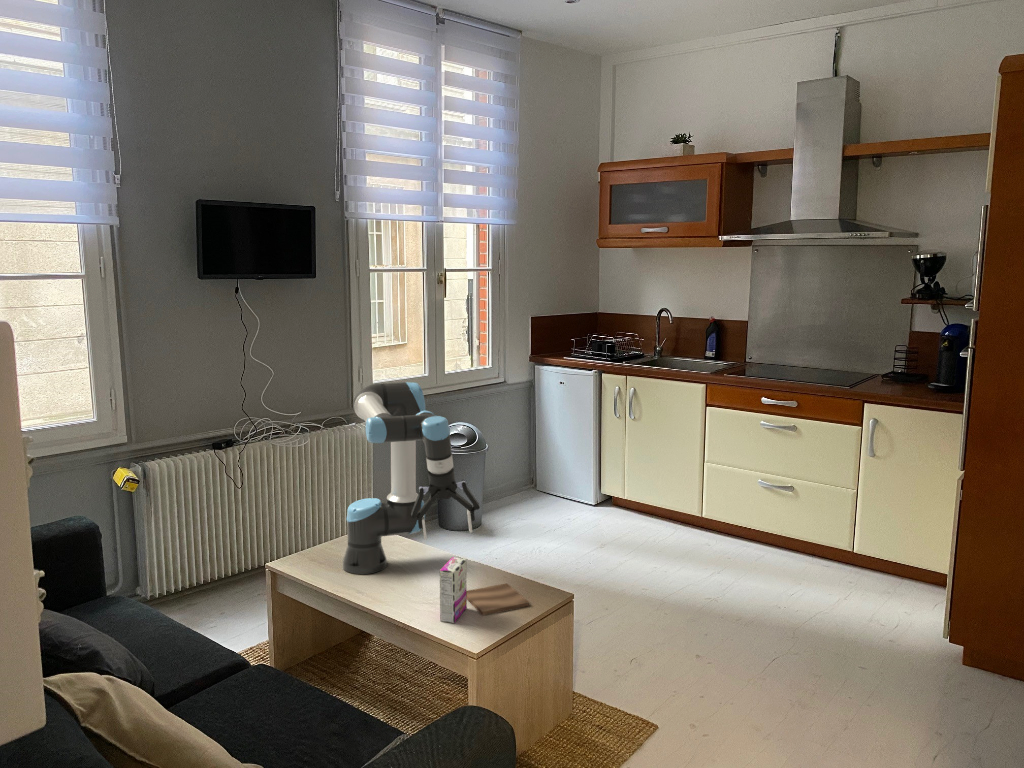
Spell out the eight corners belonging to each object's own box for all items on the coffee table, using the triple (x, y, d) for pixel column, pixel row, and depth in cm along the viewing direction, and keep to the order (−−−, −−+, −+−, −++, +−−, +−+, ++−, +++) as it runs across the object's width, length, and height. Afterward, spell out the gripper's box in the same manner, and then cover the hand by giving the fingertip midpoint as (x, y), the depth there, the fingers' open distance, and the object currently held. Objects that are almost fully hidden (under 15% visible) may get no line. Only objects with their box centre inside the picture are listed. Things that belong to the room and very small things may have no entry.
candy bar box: (451, 606, 245) (452, 556, 243) (467, 608, 244) (467, 558, 241) (438, 621, 235) (438, 569, 232) (454, 624, 233) (454, 571, 231)
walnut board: (462, 595, 253) (462, 591, 253) (507, 586, 260) (507, 583, 260) (482, 615, 239) (482, 611, 239) (529, 606, 246) (529, 602, 246)
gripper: (397, 480, 223) (406, 546, 230) (484, 468, 226) (491, 533, 233) (397, 469, 230) (405, 534, 237) (481, 458, 233) (487, 522, 240)
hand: (448, 534), depth 235 cm, fingers open, 13 cm apart
